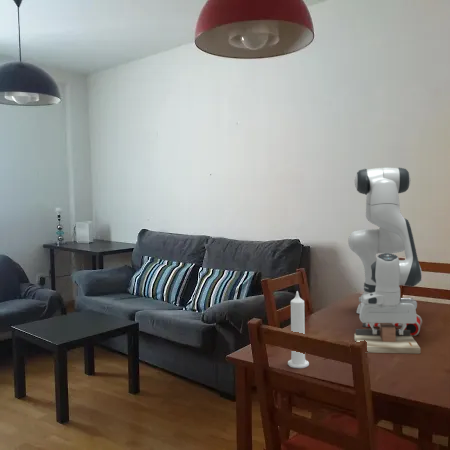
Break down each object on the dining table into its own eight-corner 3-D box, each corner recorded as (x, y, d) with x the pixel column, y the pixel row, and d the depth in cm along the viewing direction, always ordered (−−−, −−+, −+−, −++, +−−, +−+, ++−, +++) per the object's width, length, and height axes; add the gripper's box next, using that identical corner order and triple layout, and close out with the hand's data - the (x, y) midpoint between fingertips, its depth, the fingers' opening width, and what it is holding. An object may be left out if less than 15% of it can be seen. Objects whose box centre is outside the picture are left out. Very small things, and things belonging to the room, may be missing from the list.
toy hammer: (360, 331, 203) (360, 316, 203) (365, 323, 214) (365, 309, 213) (419, 337, 193) (419, 321, 193) (421, 329, 204) (422, 313, 203)
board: (354, 338, 193) (354, 328, 193) (410, 339, 190) (410, 329, 189) (359, 352, 177) (359, 341, 177) (420, 353, 174) (420, 342, 174)
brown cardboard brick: (379, 335, 189) (379, 322, 188) (392, 336, 188) (392, 323, 188) (382, 341, 182) (382, 328, 182) (395, 341, 181) (395, 328, 181)
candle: (306, 360, 170) (305, 288, 168) (310, 368, 163) (310, 293, 161) (286, 361, 170) (285, 289, 168) (289, 368, 163) (288, 294, 161)
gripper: (414, 296, 185) (414, 332, 186) (358, 295, 188) (358, 331, 189) (418, 300, 179) (418, 337, 180) (360, 299, 182) (360, 336, 183)
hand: (387, 334), depth 185 cm, fingers open, 8 cm apart
